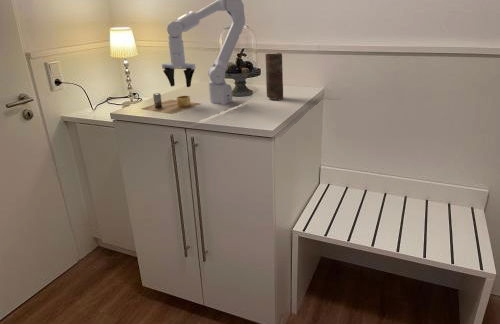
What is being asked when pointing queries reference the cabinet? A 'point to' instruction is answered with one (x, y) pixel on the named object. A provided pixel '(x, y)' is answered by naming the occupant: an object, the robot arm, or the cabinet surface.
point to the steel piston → (157, 100)
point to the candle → (274, 76)
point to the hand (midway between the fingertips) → (180, 86)
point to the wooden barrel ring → (183, 101)
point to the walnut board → (169, 107)
